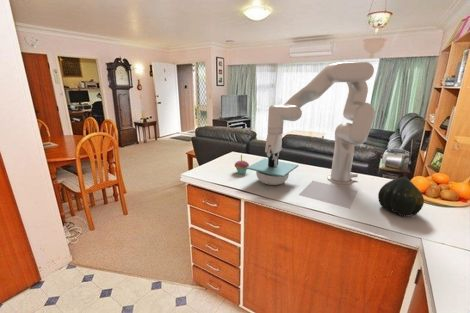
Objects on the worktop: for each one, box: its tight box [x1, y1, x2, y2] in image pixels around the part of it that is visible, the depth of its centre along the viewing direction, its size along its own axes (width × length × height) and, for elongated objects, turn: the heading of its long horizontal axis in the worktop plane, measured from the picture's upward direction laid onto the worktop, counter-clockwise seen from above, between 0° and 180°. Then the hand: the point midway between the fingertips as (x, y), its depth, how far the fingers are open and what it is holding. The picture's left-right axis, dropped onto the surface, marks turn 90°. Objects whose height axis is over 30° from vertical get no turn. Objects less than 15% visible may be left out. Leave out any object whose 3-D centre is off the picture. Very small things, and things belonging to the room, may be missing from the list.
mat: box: [298, 180, 358, 209], centre depth 112 cm, size 22×22×1 cm
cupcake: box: [234, 153, 250, 175], centre depth 137 cm, size 9×8×12 cm
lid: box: [247, 156, 299, 177], centre depth 121 cm, size 20×20×6 cm
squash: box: [377, 176, 425, 217], centre depth 95 cm, size 14×15×15 cm
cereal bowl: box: [255, 171, 290, 186], centre depth 123 cm, size 17×17×7 cm
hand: (273, 165), depth 121 cm, fingers closed on lid, 4 cm apart
